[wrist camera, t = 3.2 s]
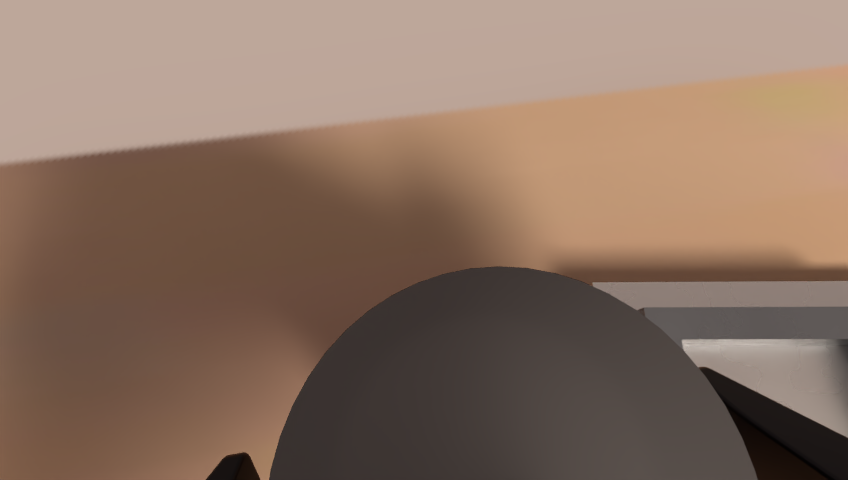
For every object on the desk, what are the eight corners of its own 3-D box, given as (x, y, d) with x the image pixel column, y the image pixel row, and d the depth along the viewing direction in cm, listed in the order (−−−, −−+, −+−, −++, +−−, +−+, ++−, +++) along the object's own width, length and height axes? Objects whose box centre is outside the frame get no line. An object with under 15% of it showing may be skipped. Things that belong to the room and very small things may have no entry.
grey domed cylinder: (537, 511, 15) (839, 856, 4) (383, 510, 15) (231, 843, 4) (526, 352, 17) (713, 264, 6) (386, 352, 17) (289, 268, 6)
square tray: (1003, 682, 13) (1154, 759, 11) (629, 677, 14) (680, 751, 11) (873, 286, 17) (959, 265, 15) (584, 288, 18) (613, 267, 15)
